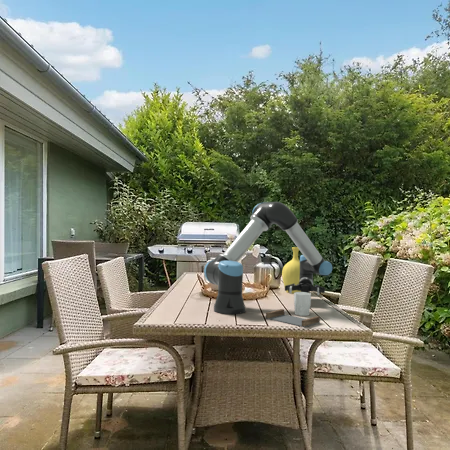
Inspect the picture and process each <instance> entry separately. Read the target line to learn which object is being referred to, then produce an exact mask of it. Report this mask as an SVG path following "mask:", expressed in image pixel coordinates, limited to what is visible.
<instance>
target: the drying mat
mask: <svg viewBox="0 0 450 450" xmlns="http://www.w3.org/2000/svg"><path fill="white" fill-rule="evenodd" d="M265 319H266V320H270V321H274V322H278V323H279V322H280V323H283V324H288V325H292V326H297V327H301V328H307V327H311V326H314V325H317V324H320V322H321V321H320V322H318V323H314V324H311V325H308V326H302V320H305V319H306V318H303V317H298V316H294V315H289V314H285V313H284V315H280V316H276V317H272V318H266V317H265Z"/></svg>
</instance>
